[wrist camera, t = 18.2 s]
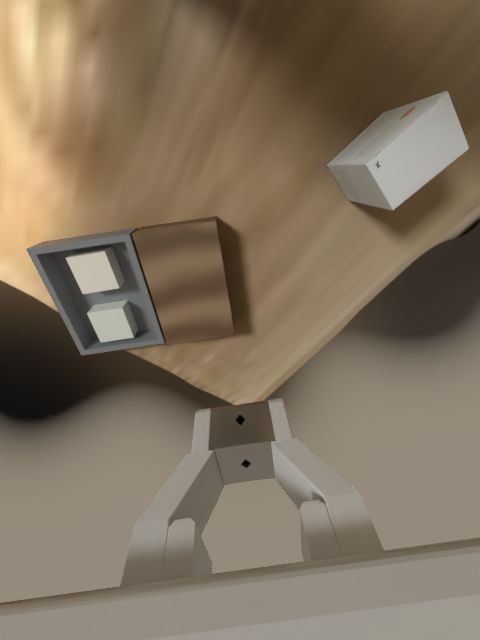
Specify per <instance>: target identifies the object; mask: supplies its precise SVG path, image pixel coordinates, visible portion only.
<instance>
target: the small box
mask: <svg viewBox="0 0 480 640" xmlns="http://www.w3.org/2000/svg"><path fill="white" fill-rule="evenodd" d="M467 150H469V146H468V144H467V141H466V138H465V135H464V133H463V130H462V127H461V125H460V122H459V119H458V117H457V114H456V111H455V109H454V106H453V103H452V100H451V98H450V95H449V92H448V91H444V92H441V93H439V94H436V95H433V96H430V97H427V98H424V99H421V100H418V101H415V102H412V103H410V104H407V105H404V106H401V107H398V108H395V109H392V110H389V111H387V112H383V113H382V114H381V115H380V116H379V117H378V118H376V119H375V120H374V121H373V122H372V123H371V124H370V125H369V126H368V127H367V128H366V129H365V130H364V131H363V132H362V133H361V134H359V135H358V136H357V137H356V138H355V139H354V140H353V141H352V142H351V143H350V144H349V145H348V146H347V147H346V148H344V149H343V150H342V151H341V152H340V153H339V154H338V155H337V156H336V157H335V158H334V159H333V160H332V161H331V162H329V163H328V164H327V167H328V169H329V170H330V172H331V173H332V175H333V176H334V178H335V180H336V181H337V183H338V184H339V186H340V187H341V189H342V190H343V192H344V194H345V195H346V197H347V198H348V200H349V201H353V202H357V203H361V204H366V205H370V206H374V207H379V208H383V209H387V210H392V211H394V210H395V209H396V208H397V207H398V206H400V205H401V204H402V203H403V202H405V201H406V200H407V199H408V198H409V197H411V196H412V195H413V194H414V193H416V192H417V191H418V190H419V189H421V188H422V187H423V186H424V185H425V184H427V183H428V182H429V181H430V180H432V179H433V178H434V177H435V176H436V175H438V174H439V173H440V172H441V171H443V170H444V169H445V168H446V167H448V166H449V165H450V164H451V163H452V162H454V161H455V160H456V159H457V158H459V157H460V156H461V155H462V154H464V153H465V152H466V151H467Z"/></svg>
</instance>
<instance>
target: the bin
mask: <svg viewBox="0 0 480 640" xmlns="http://www.w3.org/2000/svg"><path fill="white" fill-rule="evenodd" d="M135 231H137V228H134V229H127V230H120V231H113V232H107V233H100V234H93V235H87V236H80V237H73V238H66V239H60V240H53V241H46V242H42V243H39V244H37V245H35V246H32V247H30V248H28V249H27V251H28V253H29V255H30V257H31V259H32V261H33V263H34V265H35V267H36V269H37V271H38V273H39V274H40V276H41V278H42V280H43V282H44V284H45V286H46V288H47V290H48V292H49V294H50V296H51V297H52V299H53V301H54V303H55V305H56V307H57V309H58V311H59V313H60V315H61V317H62V318H63V321H64V322H65V324H66V326H67V328H68V330H69V332H70V334H71V336H72V338H73V340H74V342H75V343H76V345H77V347H78V349H79V351H80V353H81V355H87V354H94V353H101V352H108V351H115V350H122V349H129V348H136V347H143V346H150V345H157V344H164V343H165V340H166V339H165V336H164V333H163V330H162V327H161V323H160V320H159V317H158V314H157V311H156V308H155V305H154V302H153V298H152V295H151V292H150V289H149V286H148V283H147V280H146V276H145V273H144V270H143V267H142V264H141V261H140V258H139V255H138V251H137V248H136V245H135V242H134V239H133V236H132V234H133V233H134V232H135ZM111 246H112V248H113V251H114V254H115V256H116V259H117V261H118V264H119V267H120V269H121V272H122V274H123V277H124V280H125V282H124V283H123V285H122V286H121V287H120V288H118V289H112V290H106V291H100V292H94V293H88V294H82V291H81V289H80V287H79V285H78V283H77V281H76V279H75V277H74V275H73V273H72V271H71V268H70V266H69V264H68V262H67V260H66V257H68V256H70V255H71V254H73V253H75V252H81V251H87V250H93V249H99V248H105V247H111ZM125 300H128V302H129V305H130V308H131V311H132V313H133V316H134V319H135V321H136V324H137V327H138V331H137V333H136V335H135V337H134V338H128V339H121V340H115V341H108V342H100V340H99V338H98V336H97V334H96V332H95V330H94V327H93V325H92V323H91V321H90V319H89V317H88V315H87V312H88V311H89V310H90V309H91V308H92V307H93V306H94V305H98V304H104V303H111V302H118V301H125Z"/></svg>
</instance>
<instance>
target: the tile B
mask: <svg viewBox="0 0 480 640" xmlns="http://www.w3.org/2000/svg"><path fill="white" fill-rule="evenodd" d="M87 315H88V317H89V319H90V321H91V323H92V325H93V327H94V330H95V332H96V334H97V336H98V338H99V340H100V342H108V341H115V340H121V339H128V338H134V337H135V335H136V333H137V331H138V327H137V324H136V321H135V319H134V316H133V313H132V311H131V308H130V305H129V302H128V300H125V301H118V302H111V303H104V304H98V305H94V306H93V307H92V308H91V309H90V310H89V311H88V312H87Z"/></svg>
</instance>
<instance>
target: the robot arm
mask: <svg viewBox="0 0 480 640" xmlns="http://www.w3.org/2000/svg"><path fill="white" fill-rule="evenodd" d="M268 478H275V479H276V481H277V482H278V483H279V485H280V486H281V487H282V488H283V490H284V491H285V492H286V494H287V495H288V496H289V497H290V499H291V500H292V501H293V502H294V504H295V505H296V506H297V508H298V509H299V510H300V519H301V545H302V554H303V559H304V562H296V563H290V564H282V565H275V566H267V567H260V568H252V569H245V570H238V571H230V572H223V573H216V574H212V562H211V560H210V557H209V555H208V552H207V550H206V547H205V545H204V543H203V540H202V538H201V534H202V532H203V530H204V528H205V525H206V524H207V522H208V520H209V517H210V515H211V513H212V511H213V509H214V507H215V505H216V503H217V501H218V498H219V496H220V494H221V492H222V490H223V488H224V485H227V484H232V483H238V482H244V481H249V480H250V481H251V480H260V479H268ZM0 640H480V538H474V539H466V540H458V541H451V542H444V543H436V544H429V545H421V546H415V547H407V548H399V549H392V550H386V551H384V550H383V548H382V545H381V542H380V540H379V538H378V535H377V533H376V531H375V528H374V526H373V524H372V521H371V519H370V517H369V514H368V512H367V509H366V507H365V505H364V502H363V500H362V498H361V495H360V493H359V492H358V491H357V490H355V489H354V488H353V487H352V486H351V485H350V484H349V483H348V482H347V481H345V480H344V479H343V478H342V477H341V476H340V475H339V474H337V472H335V471H334V470H333V469H332V468H331V467H330V466H329V465H328V464H326V463H325V462H324V461H323V460H322V459H321V458H320V457H318V455H316V454H315V453H314V452H313V451H312V450H311V449H310V448H309V447H307V446H306V445H305V444H304V443H303V442H302V441H301V440H300V439H298V438H293V435H292V431H291V427H290V424H289V420H288V416H287V413H286V409H285V405H284V401H283V399H282V398H280V399H273V400H268V401H267V400H266V401H259V402H253V403H246V404H240V405H234V406H226V407H218V408H211V409H203V410H197V412H196V414H195V424H194V433H193V443H192V453H188V454H186V456H185V457H184V458H183V460H182V461H181V463H180V464H179V466H178V467H177V468H176V469H175V471H174V472H173V473H172V475H171V476H170V478H169V479H168V480H167V481H166V483H165V484H164V485H163V487H162V488H161V490H160V491H159V492H158V494H157V495H156V496H155V498H154V499H153V501H152V502H151V503H150V504H149V506H148V507H147V509H146V510H145V511H144V513H143V514H142V515H141V517H140V518H139V519H138V521H137V522H136V523H135V527H134V531H133V536H132V539H131V544H130V548H129V552H128V556H127V560H126V564H125V569H124V573H123V577H122V581H121V585H120V587H113V588H106V589H98V590H91V591H84V592H77V593H69V594H62V595H55V596H47V597H40V598H33V599H25V600H18V601H11V602H3V603H0Z"/></svg>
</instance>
